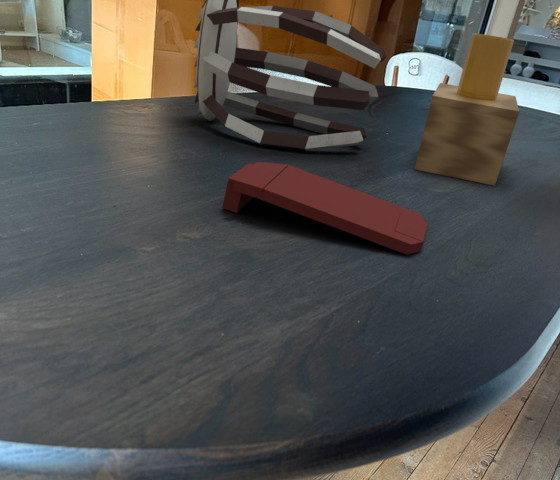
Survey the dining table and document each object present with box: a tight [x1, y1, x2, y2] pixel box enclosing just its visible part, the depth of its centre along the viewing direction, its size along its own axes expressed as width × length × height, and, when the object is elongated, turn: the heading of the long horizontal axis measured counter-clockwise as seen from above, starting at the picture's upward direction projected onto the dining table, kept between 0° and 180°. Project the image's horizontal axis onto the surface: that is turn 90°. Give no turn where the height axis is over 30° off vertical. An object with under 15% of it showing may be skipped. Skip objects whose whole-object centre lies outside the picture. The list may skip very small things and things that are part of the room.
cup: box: [457, 33, 515, 100], centre depth 100 cm, size 7×7×9 cm
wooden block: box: [414, 82, 520, 187], centre depth 106 cm, size 14×18×12 cm
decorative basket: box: [193, 0, 388, 152], centre depth 105 cm, size 24×27×35 cm
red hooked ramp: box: [221, 161, 428, 255], centre depth 76 cm, size 12×5×25 cm
